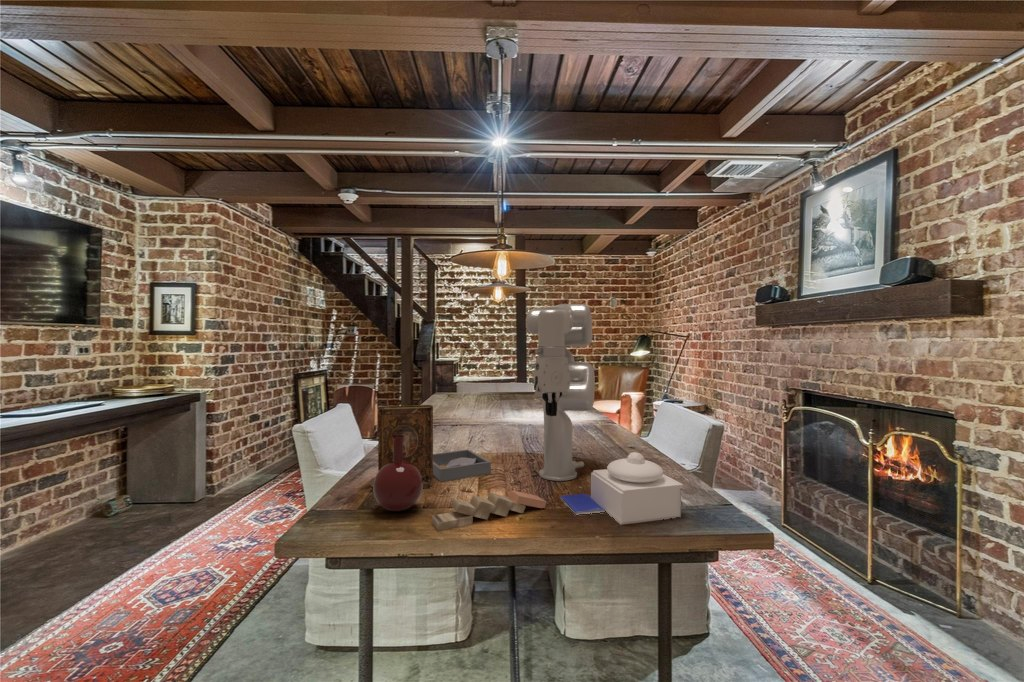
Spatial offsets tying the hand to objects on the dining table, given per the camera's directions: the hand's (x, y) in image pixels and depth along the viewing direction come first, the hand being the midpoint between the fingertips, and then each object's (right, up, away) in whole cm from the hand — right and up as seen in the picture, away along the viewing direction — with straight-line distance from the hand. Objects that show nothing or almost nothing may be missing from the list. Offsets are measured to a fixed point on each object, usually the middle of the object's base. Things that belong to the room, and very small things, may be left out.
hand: (551, 415), depth 134 cm
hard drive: (+8, -25, -6) cm, 27 cm away
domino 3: (-14, -24, -11) cm, 29 cm away
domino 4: (-9, -23, -9) cm, 27 cm away
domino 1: (-22, -24, -16) cm, 36 cm away
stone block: (-29, -24, +26) cm, 46 cm away
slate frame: (-31, -24, +27) cm, 47 cm away
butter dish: (+22, -25, -8) cm, 34 cm away
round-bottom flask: (-42, -25, -9) cm, 50 cm away
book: (-44, -24, +10) cm, 51 cm away
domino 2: (-18, -23, -13) cm, 33 cm away
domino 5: (-3, -23, -6) cm, 24 cm away
